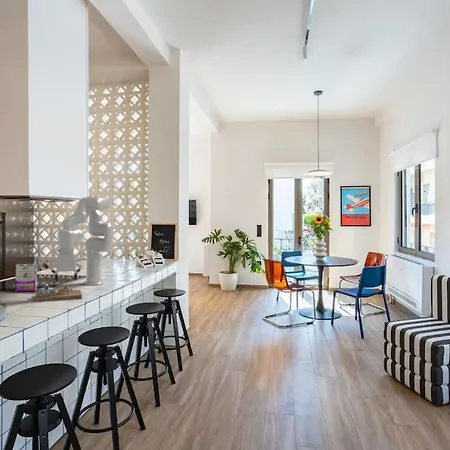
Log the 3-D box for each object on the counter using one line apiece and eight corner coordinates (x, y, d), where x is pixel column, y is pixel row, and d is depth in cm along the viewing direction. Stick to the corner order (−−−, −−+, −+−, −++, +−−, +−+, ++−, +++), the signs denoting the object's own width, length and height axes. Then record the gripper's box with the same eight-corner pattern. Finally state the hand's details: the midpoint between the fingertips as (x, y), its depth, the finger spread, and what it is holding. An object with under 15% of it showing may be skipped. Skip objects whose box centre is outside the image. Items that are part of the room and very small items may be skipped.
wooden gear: (58, 292, 211) (58, 287, 211) (71, 291, 214) (71, 286, 214) (58, 295, 204) (58, 289, 204) (72, 294, 207) (72, 289, 207)
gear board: (35, 295, 210) (36, 283, 209) (80, 293, 220) (80, 281, 219) (34, 301, 196) (34, 289, 196) (81, 298, 206) (82, 286, 206)
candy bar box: (37, 289, 225) (37, 263, 224) (35, 291, 220) (35, 264, 220) (17, 290, 222) (17, 263, 221) (14, 291, 217) (15, 264, 216)
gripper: (49, 252, 201) (49, 282, 202) (82, 251, 209) (82, 281, 210) (49, 250, 208) (49, 280, 209) (82, 250, 216) (81, 278, 216)
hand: (66, 280), depth 209 cm, fingers open, 9 cm apart
